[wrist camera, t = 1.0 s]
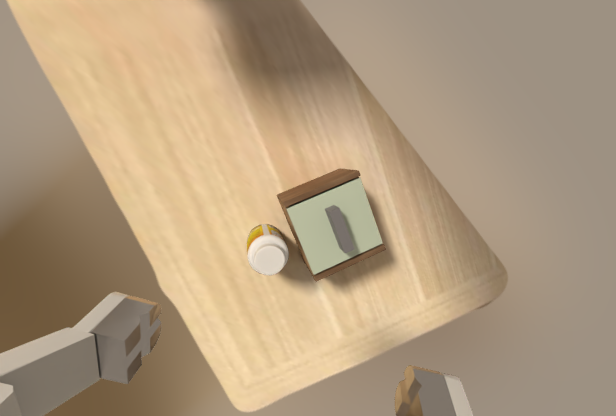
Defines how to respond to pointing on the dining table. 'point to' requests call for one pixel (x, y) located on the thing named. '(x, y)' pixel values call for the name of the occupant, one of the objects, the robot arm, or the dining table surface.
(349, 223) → the lid
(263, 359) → the dining table surface
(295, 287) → the dining table surface
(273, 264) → the supplement bottle
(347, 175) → the walnut box
